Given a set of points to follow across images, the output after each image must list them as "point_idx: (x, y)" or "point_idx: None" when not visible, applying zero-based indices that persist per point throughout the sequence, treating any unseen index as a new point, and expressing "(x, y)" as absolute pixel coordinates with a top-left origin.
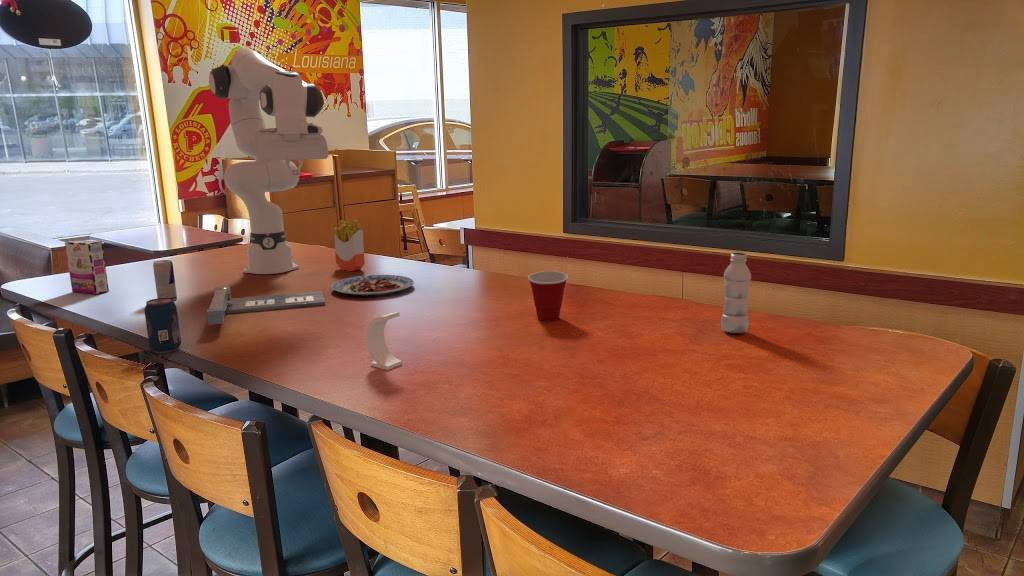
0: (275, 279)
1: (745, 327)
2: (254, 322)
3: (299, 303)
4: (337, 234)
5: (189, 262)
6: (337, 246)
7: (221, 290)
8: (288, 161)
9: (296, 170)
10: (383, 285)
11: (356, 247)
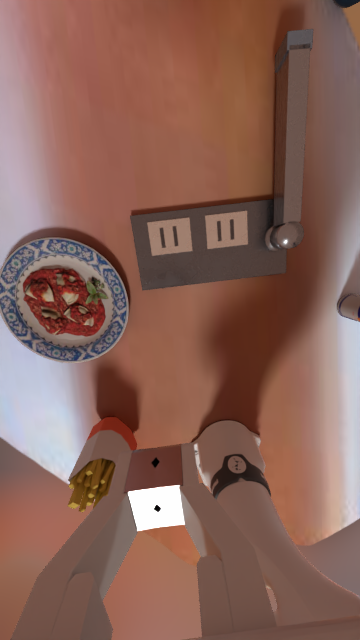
0: (215, 392)
1: None
2: (227, 131)
3: (168, 215)
4: None
5: (324, 499)
6: None
7: (292, 214)
8: (225, 600)
9: (141, 479)
10: (45, 288)
11: (92, 443)
